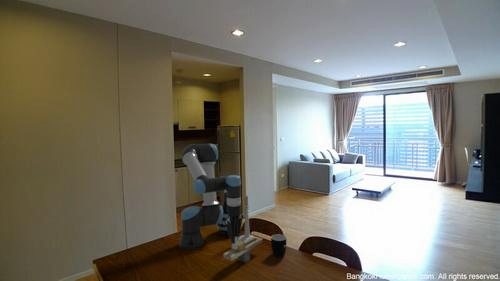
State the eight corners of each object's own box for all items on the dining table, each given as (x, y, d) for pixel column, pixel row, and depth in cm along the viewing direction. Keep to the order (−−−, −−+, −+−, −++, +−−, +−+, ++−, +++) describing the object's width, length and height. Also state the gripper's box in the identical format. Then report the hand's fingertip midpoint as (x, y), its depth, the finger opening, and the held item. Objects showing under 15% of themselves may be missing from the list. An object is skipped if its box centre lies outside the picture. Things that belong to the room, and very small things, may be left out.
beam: (223, 268, 135) (222, 253, 135) (254, 249, 158) (254, 236, 158) (231, 272, 132) (231, 257, 131) (262, 251, 154) (262, 238, 154)
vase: (243, 232, 185) (242, 191, 184) (226, 239, 173) (226, 195, 172) (228, 227, 196) (227, 188, 195) (211, 233, 184) (211, 192, 183)
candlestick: (256, 244, 165) (256, 197, 164) (236, 244, 165) (236, 197, 164) (256, 236, 178) (256, 192, 177) (238, 236, 178) (237, 193, 177)
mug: (285, 259, 145) (285, 241, 145) (269, 257, 147) (269, 239, 147) (288, 249, 156) (287, 233, 156) (273, 248, 159) (273, 231, 158)
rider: (231, 252, 140) (231, 243, 140) (237, 248, 144) (237, 240, 144) (239, 254, 137) (239, 245, 137) (245, 251, 141) (245, 242, 141)
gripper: (231, 208, 130) (231, 255, 131) (247, 203, 140) (247, 246, 141) (220, 206, 135) (221, 251, 135) (236, 201, 145) (237, 242, 146)
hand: (234, 248), depth 138 cm, fingers closed
